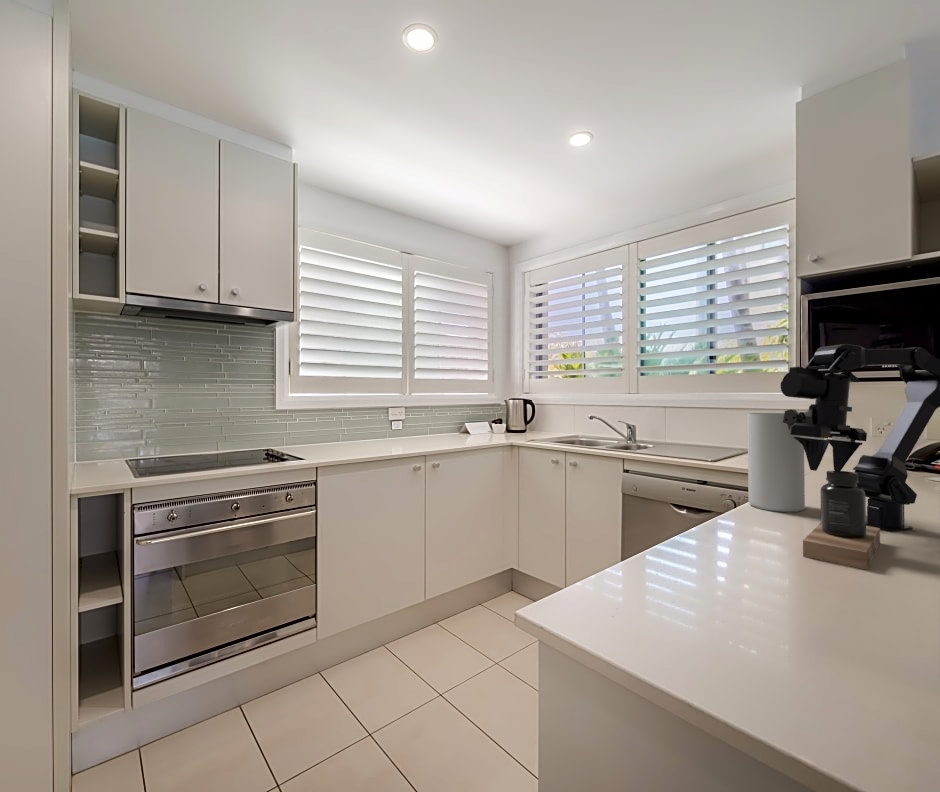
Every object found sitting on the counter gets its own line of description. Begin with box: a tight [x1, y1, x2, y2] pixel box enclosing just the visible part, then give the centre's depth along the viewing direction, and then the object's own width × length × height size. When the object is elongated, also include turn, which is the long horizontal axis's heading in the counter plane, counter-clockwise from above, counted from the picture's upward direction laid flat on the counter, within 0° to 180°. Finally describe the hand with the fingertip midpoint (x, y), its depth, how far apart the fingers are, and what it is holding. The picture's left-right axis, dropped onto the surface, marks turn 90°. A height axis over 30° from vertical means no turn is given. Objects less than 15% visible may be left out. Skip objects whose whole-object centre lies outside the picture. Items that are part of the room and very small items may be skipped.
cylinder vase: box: [747, 412, 806, 513], centre depth 122 cm, size 12×12×25 cm
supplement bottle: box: [820, 470, 867, 538], centre depth 88 cm, size 7×7×12 cm
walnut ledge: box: [802, 522, 881, 570], centre depth 88 cm, size 20×9×3 cm, turn 133°
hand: (825, 470), depth 101 cm, fingers open, 9 cm apart
